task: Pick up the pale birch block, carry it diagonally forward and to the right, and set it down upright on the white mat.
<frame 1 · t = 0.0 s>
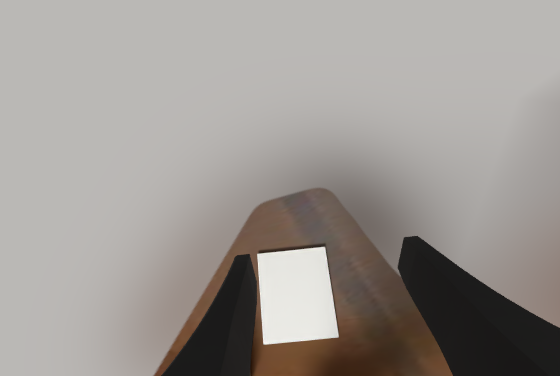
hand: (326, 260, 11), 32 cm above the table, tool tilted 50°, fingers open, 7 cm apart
white mat: (295, 292, 41), on the table
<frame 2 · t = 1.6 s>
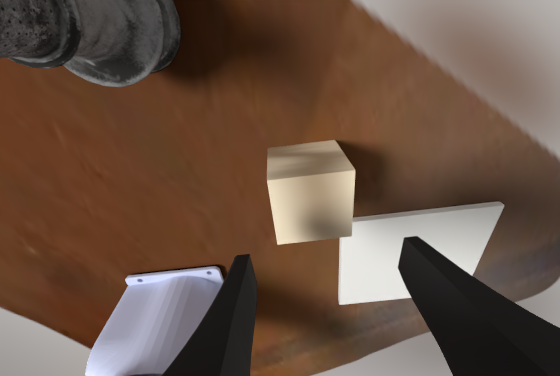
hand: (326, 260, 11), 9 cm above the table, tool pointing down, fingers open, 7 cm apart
grey tall tiered piece: (134, 21, 14), on the table
white mat: (407, 257, 24), on the table
birch block: (303, 173, 19), on the table
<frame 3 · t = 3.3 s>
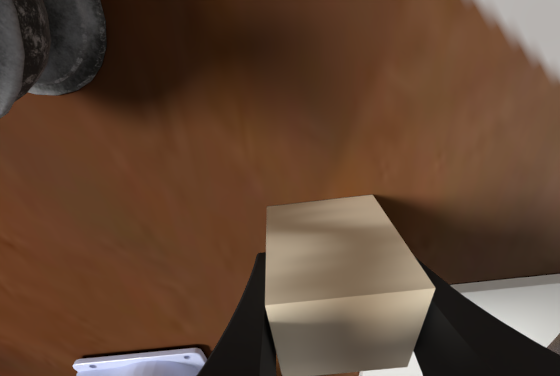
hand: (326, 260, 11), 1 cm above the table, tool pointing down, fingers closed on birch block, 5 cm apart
grey tall tiered piece: (16, 2, 7), on the table
white mat: (456, 332, 18), on the table
birch block: (320, 239, 13), on the table, touching gripper
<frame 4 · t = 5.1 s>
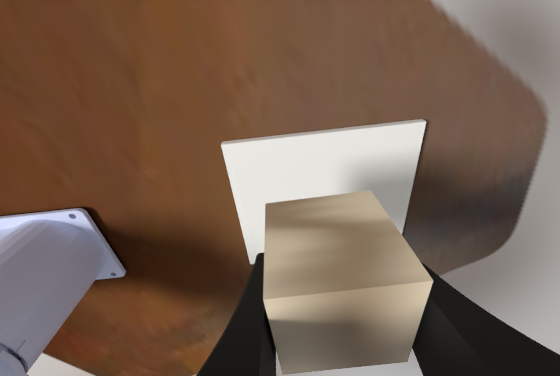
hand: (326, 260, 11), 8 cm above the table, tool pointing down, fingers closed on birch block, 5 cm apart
white mat: (322, 200, 20), on the table
birch block: (319, 236, 13), point 7 cm above the table, touching gripper
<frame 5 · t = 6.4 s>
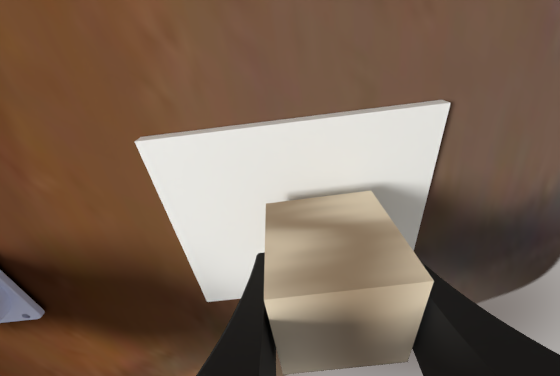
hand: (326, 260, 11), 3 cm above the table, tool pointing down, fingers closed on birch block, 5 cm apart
white mat: (298, 219, 14), on the table
birch block: (320, 236, 13), point 2 cm above the table, touching gripper
when the fingers open (3 cm above the table, at t = 7.3 s): birch block drops 1 cm, resting on white mat.
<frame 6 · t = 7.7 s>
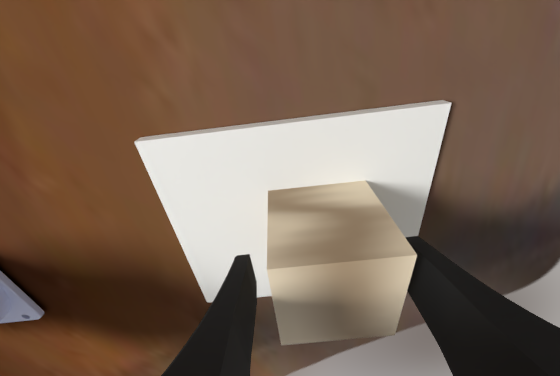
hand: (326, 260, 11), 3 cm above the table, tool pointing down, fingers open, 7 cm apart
white mat: (298, 220, 14), on the table
birch block: (317, 223, 14), point 1 cm above the table, touching white mat
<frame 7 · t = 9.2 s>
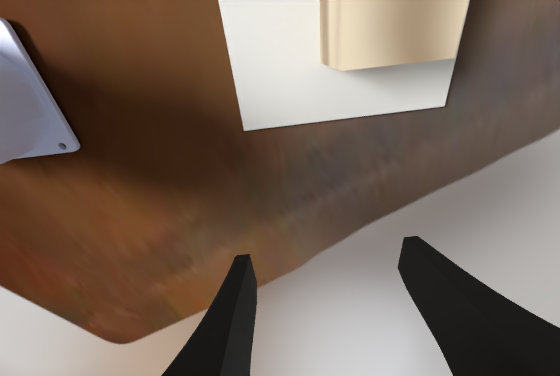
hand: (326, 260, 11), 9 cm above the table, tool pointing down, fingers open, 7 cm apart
white mat: (342, 14, 14), on the table
birch block: (363, 8, 14), point 1 cm above the table, touching white mat
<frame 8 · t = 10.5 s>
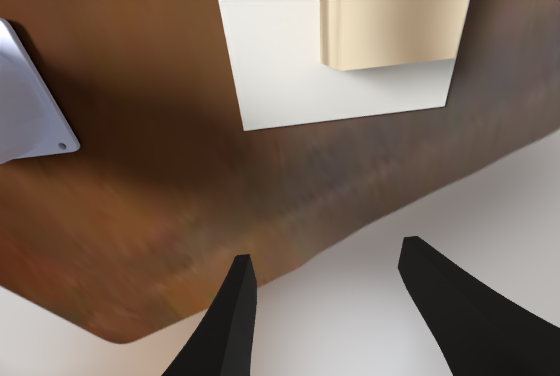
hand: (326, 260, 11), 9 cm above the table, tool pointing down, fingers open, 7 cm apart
white mat: (342, 14, 14), on the table
birch block: (363, 8, 14), point 1 cm above the table, touching white mat
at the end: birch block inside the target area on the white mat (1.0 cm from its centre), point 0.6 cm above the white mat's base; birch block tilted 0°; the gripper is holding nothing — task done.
